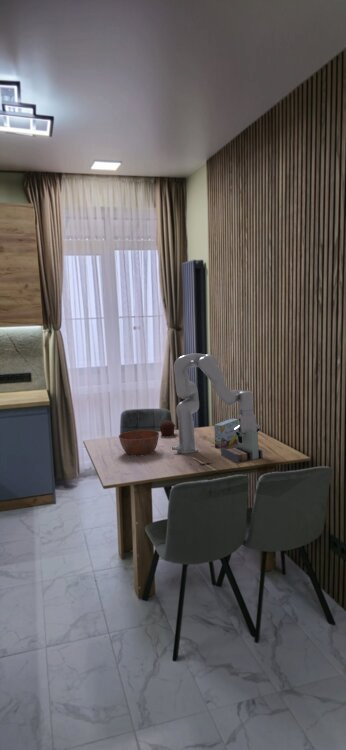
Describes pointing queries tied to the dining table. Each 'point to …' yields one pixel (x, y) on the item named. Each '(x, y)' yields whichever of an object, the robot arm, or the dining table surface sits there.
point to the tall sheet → (250, 443)
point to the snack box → (225, 433)
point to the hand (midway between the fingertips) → (247, 441)
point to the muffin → (167, 428)
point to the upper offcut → (238, 452)
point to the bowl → (139, 442)
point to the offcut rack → (235, 456)
